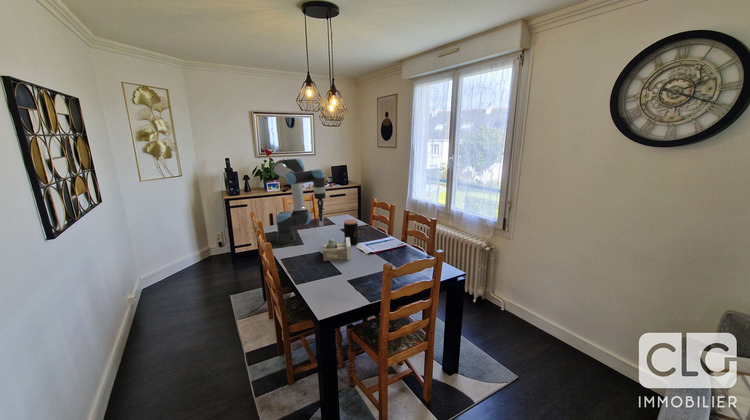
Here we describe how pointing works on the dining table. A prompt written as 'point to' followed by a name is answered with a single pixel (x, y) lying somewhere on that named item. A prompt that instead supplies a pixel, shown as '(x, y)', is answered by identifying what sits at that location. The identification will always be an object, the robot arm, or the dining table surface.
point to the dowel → (331, 244)
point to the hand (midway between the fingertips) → (321, 222)
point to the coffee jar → (351, 231)
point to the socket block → (335, 251)
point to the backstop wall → (348, 248)
